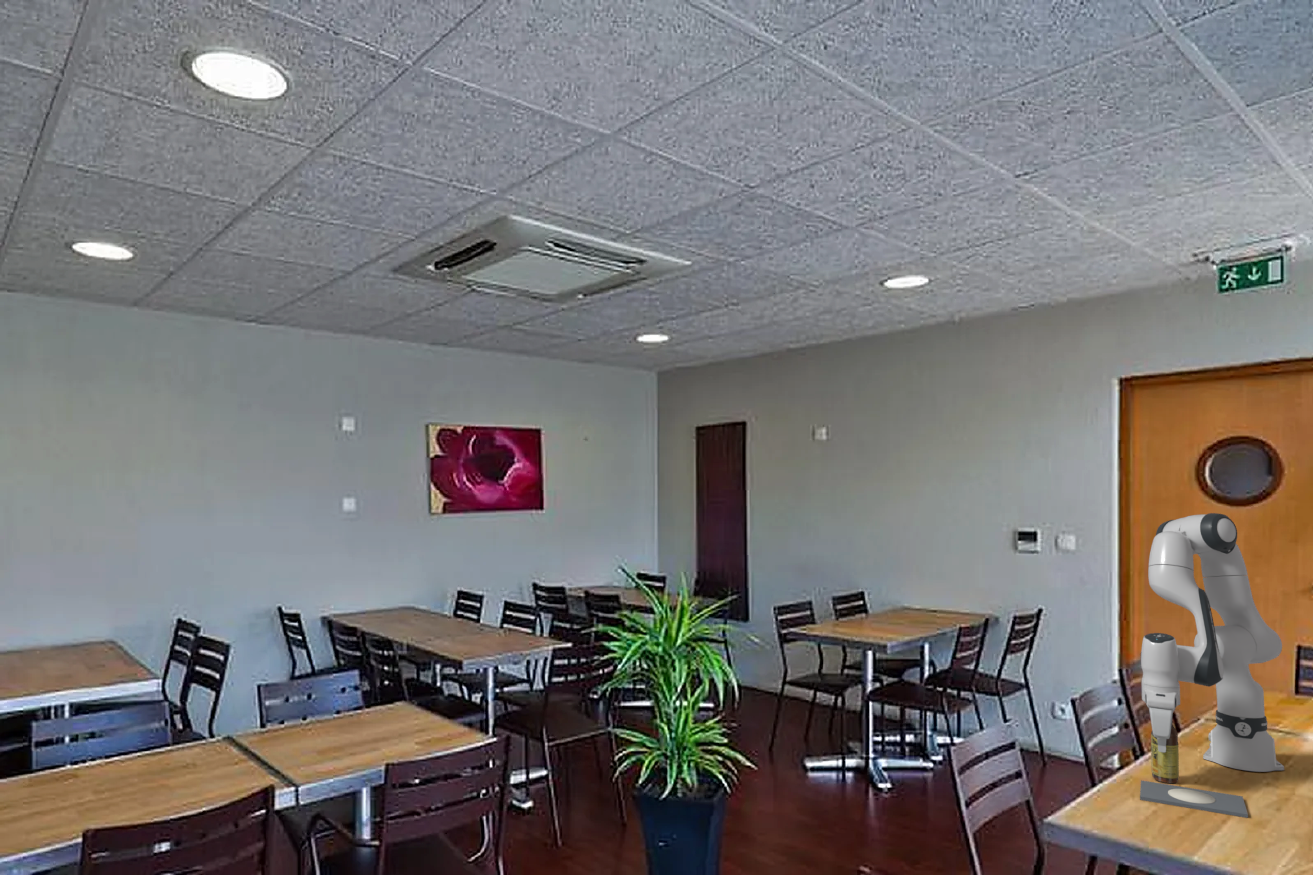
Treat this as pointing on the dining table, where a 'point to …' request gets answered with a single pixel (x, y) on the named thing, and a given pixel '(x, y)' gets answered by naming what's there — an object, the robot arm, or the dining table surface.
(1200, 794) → the mat
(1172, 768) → the sauce bottle
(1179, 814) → the dining table surface
